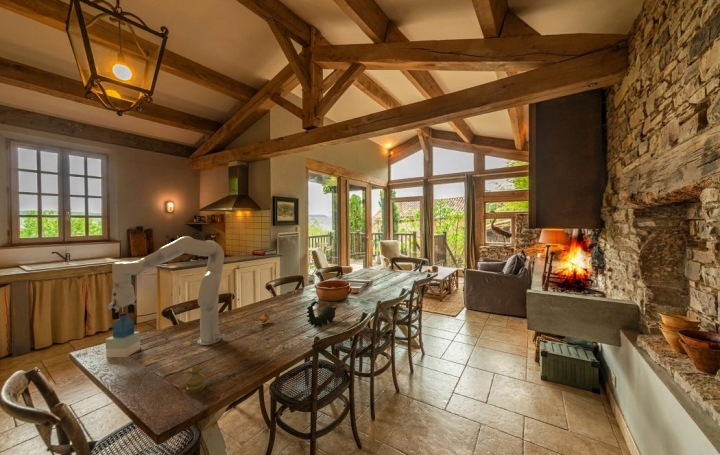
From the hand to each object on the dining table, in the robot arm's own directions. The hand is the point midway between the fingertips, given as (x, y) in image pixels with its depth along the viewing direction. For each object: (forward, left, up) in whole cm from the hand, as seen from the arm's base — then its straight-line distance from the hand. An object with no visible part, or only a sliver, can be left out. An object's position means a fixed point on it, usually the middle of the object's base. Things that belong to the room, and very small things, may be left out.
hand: (123, 316), depth 150 cm
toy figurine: (-102, -44, -20) cm, 113 cm away
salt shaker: (-58, +31, -20) cm, 69 cm away
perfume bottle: (0, 0, -11) cm, 11 cm away
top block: (0, 0, -15) cm, 15 cm away
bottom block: (0, 0, -20) cm, 20 cm away
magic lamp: (-60, -43, -20) cm, 76 cm away
